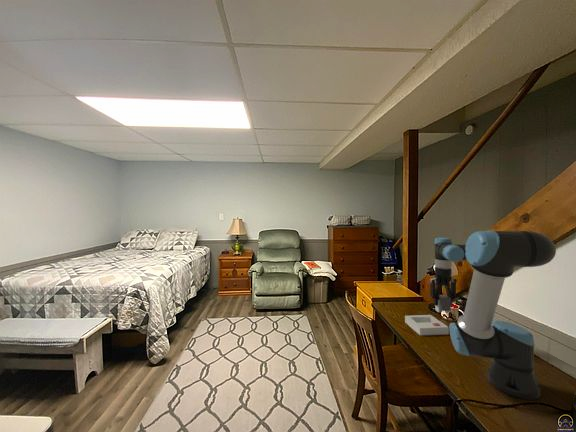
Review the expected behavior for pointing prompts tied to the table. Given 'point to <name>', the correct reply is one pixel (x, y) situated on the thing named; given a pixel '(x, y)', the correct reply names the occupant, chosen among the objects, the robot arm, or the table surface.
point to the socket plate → (426, 325)
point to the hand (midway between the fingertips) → (443, 310)
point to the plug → (445, 303)
